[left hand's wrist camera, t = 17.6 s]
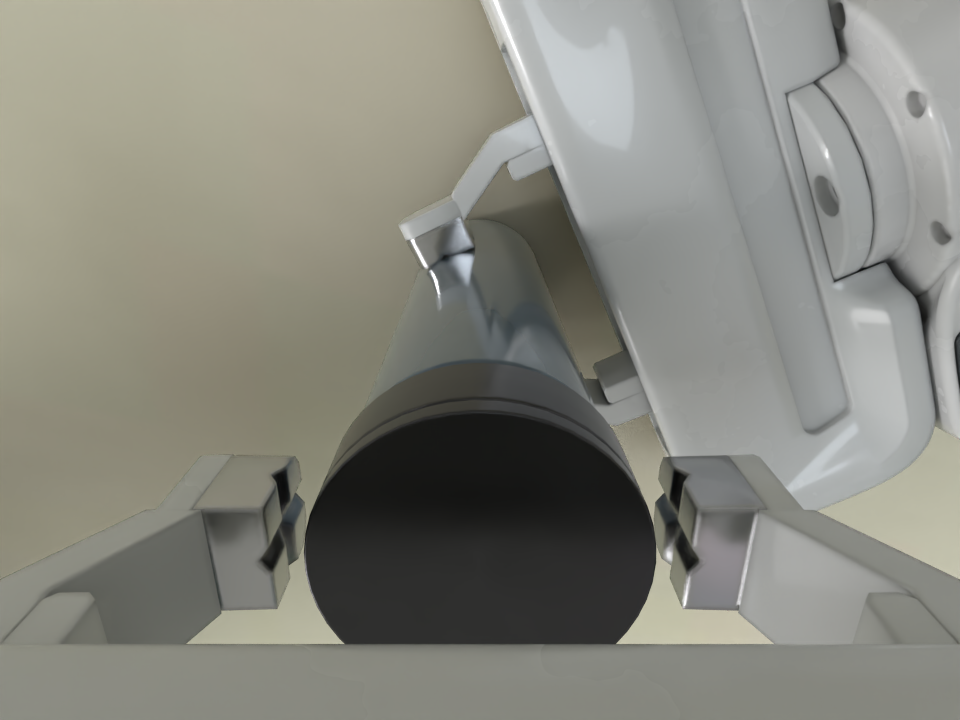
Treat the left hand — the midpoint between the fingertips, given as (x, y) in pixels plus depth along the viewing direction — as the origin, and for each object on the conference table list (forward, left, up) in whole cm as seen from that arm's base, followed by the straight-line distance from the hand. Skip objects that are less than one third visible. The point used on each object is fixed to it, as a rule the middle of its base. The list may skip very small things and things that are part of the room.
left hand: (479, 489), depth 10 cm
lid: (0, 0, +2) cm, 2 cm away
